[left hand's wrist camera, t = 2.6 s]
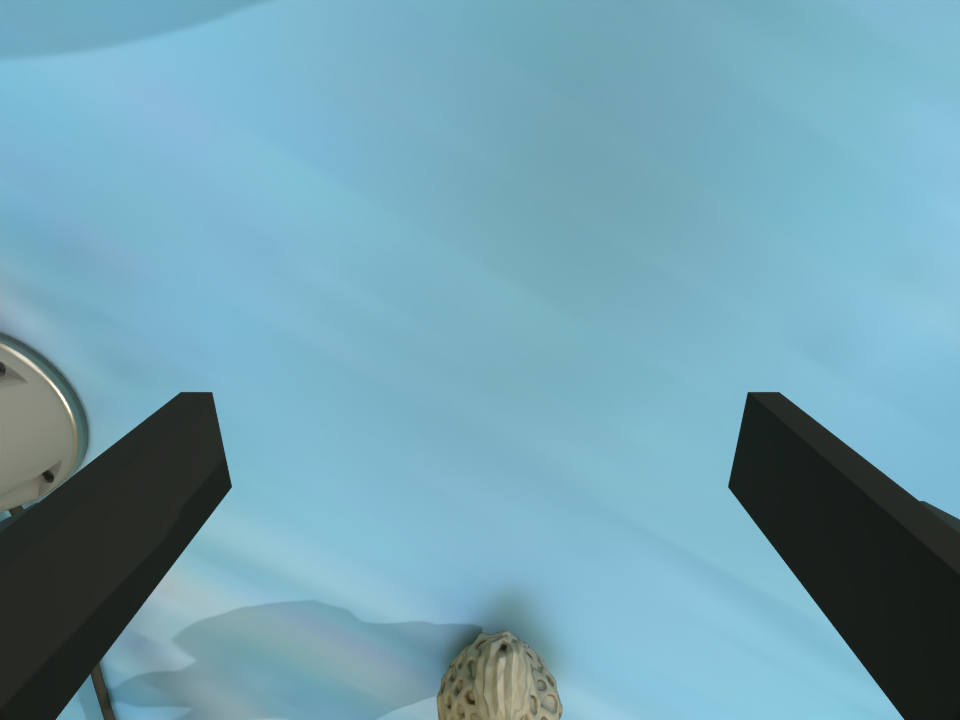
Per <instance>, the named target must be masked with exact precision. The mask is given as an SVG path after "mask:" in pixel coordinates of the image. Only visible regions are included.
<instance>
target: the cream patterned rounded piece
mask: <svg viewBox="0 0 960 720" xmlns="http://www.w3.org/2000/svg"><path fill="white" fill-rule="evenodd" d="M437 709H438V718H439V720H560V718H561V715H562V704H561V702H560V698H559V695H558V692H557V686H556V681H555V679H554V677H553V676H552V674H551V673H549V672H548V669H547V667H546V665H545V662H544V661H543V659H542V658H541V657H540V656H539V655H538V654H537V653H536V652H535V651H534V650H532V649H530V648H529V646H528V645H527V644H525V643H524V642H522V641H521V640H519V639H517V638H516V637H515V636H514V635H512V634H511V633H510V632H509V631H501V632H498V633H495V634H492V635H488V634H486V633H481V634H479V636H478V637H477V639H476V640H475V641H474V642H473V644H471V645H468V646H467V647H466V648H465V649H464V650H463V651H462V652H461V653H460V654H459V655H458V656H457V657H456V658H455V659H454V660H453V662H452V663H451V664H450V667H449V668H448V669H447V670H446V672H445V674H444V676H443V677H442V681H441V688H440V691H439V693H438V695H437Z"/></svg>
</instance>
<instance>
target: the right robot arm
mask: <svg viewBox="0 0 960 720" xmlns="http://www.w3.org/2000/svg"><path fill="white" fill-rule="evenodd" d="M87 444H88V428H87V422H86V417H85V414H84V411H83V408H82V406H81V403H80V401H79V399H78V397H77V396H76V394H75V392H74V390H73V389H72V387H71V386H70V385H69V383H68V382H67V381H66V379H65V378H64V377H63V376H62V374H61V373H60V372H59V371H58V370H57V369H56V368H55V367H54V366H53V365H52V364H51V363H49V362H48V361H47V360H46V359H45V358H44V357H42V356H41V355H40V354H38V353H37V352H36V351H34V350H33V349H31V348H30V347H28V346H26V345H25V344H23V343H21V342H19V341H17V340H15V339H13V338H11V337H9V336H6V335H4V334H1V333H0V512H3V511H6V510H9V512H10V514H11V515H12V516H13V515H14V514H16V513H18V512H20V511H22V510H24V509H23V508H22V506H21V505H22V504H25V503H28V502H31V501H33V500H35V499H37V498H39V497H41V496H44V495H46V494H47V493H49V492H51V491H52V490H53V489H55V488H56V487H57V486H59V485H60V484H61V483H63V482H64V481H65V480H66V479H68V478H69V477H70V476H71V475H72V474H73V473H74V472H75V471H76V470H77V469H78V467H79V466H80V464H81V462H82V461H83V458H84V456H85V453H86V449H87ZM91 677H92V681H93V684H94V688H95V691H96V694H97V697H98V701H99V704H100V707H101V711H102V714H103V717H104V720H115V717H114V714H113V710H112V707H111V704H110V700H109V697H108V693H107V690H106V687H105V683H104V680H103V676H102V672H101V668H100V664H99V663H98V664H97V666H96V667H95V668H94V670H93V671H92V672H91Z"/></svg>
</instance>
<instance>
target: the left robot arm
mask: <svg viewBox="0 0 960 720" xmlns="http://www.w3.org/2000/svg"><path fill="white" fill-rule="evenodd" d="M231 487H232V485H231V480H230V476H229V471H228V466H227V461H226V456H225V452H224V447H223V442H222V437H221V432H220V428H219V423H218V418H217V413H216V408H215V404H214V399H213V394H212V392H181V393H179V394H178V395H177V396H175V397H174V398H173V399H172V400H170V401H169V402H168V403H166V404H165V405H164V406H163V407H161V408H160V409H159V410H157V411H156V412H155V413H154V414H152V415H151V416H150V417H148V418H147V419H146V420H145V421H143V422H142V423H141V424H139V425H138V426H137V427H136V428H134V429H133V430H132V431H130V432H129V433H128V434H127V435H125V436H124V437H123V438H121V439H120V440H119V441H118V442H116V443H115V444H114V445H112V446H111V447H110V448H109V449H107V450H106V451H105V452H103V453H102V454H101V455H100V456H98V457H97V458H96V459H94V460H93V461H92V462H91V463H89V464H88V465H87V466H85V467H84V468H83V469H82V470H80V471H79V472H78V473H76V474H75V475H74V476H73V477H71V478H70V479H69V480H67V481H66V482H65V483H64V484H62V485H61V486H60V487H58V488H57V489H56V490H55V491H53V492H52V493H51V494H49V495H48V496H47V497H46V498H44V499H43V500H42V501H40V502H39V503H36V504H34V505H32V506H30V507H28V508H26V509H24V510H22V511H20V512H18V513H16V514H14V515H13V516H11V517H9V518H7V519H5V520H3V521H1V522H0V720H56V718H57V717H58V716H59V714H60V713H61V712H62V710H63V709H64V708H65V707H66V705H67V704H68V703H69V701H70V700H71V699H72V697H73V696H74V695H75V693H76V692H77V691H78V689H79V688H80V687H81V685H82V684H83V683H84V681H85V680H86V679H87V677H88V676H89V675H90V674H91V672H92V671H93V670H94V668H95V667H96V666H97V664H98V663H99V662H100V660H101V659H102V658H103V656H104V655H105V654H106V652H107V651H108V650H109V648H110V647H111V646H112V644H113V643H114V642H115V641H116V639H117V638H118V637H119V635H120V634H121V633H122V631H123V630H124V629H125V627H126V626H127V625H128V623H129V622H130V621H131V619H132V618H133V617H134V615H135V614H136V613H137V612H138V610H139V609H140V608H141V606H142V605H143V604H144V602H145V601H146V600H147V598H148V597H149V596H150V594H151V593H152V592H153V590H154V589H155V588H156V586H157V585H158V584H159V582H160V581H161V580H162V579H163V577H164V576H165V575H166V573H167V572H168V571H169V569H170V568H171V567H172V565H173V564H174V563H175V561H176V560H177V559H178V557H179V556H180V555H181V553H182V552H183V551H184V550H185V548H186V547H187V546H188V544H189V543H190V542H191V540H192V539H193V538H194V536H195V535H196V534H197V532H198V531H199V530H200V528H201V527H202V526H203V524H204V523H205V522H206V520H207V519H208V518H209V517H210V515H211V514H212V513H213V511H214V510H215V509H216V507H217V506H218V505H219V503H220V502H221V501H222V499H223V498H224V497H225V495H226V494H227V493H228V491H229V490H230V489H231ZM728 487H729V489H730V490H731V491H732V493H733V494H734V495H735V497H736V498H737V499H738V501H739V502H740V503H741V505H742V506H743V507H744V509H745V510H746V511H747V513H748V514H749V515H750V517H751V518H752V519H753V520H754V522H755V523H756V524H757V526H758V527H759V528H760V530H761V531H762V532H763V534H764V535H765V536H766V538H767V539H768V540H769V542H770V543H771V544H772V546H773V547H774V548H775V550H776V551H777V552H778V553H779V555H780V556H781V557H782V559H783V560H784V561H785V563H786V564H787V565H788V567H789V568H790V569H791V571H792V572H793V573H794V575H795V576H796V577H797V579H798V580H799V581H800V582H801V584H802V585H803V586H804V588H805V589H806V590H807V592H808V593H809V594H810V596H811V597H812V598H813V600H814V601H815V602H816V604H817V605H818V606H819V608H820V609H821V610H822V612H823V613H824V614H825V615H826V617H827V618H828V619H829V621H830V622H831V623H832V625H833V626H834V627H835V629H836V630H837V631H838V633H839V634H840V635H841V637H842V638H843V639H844V641H845V642H846V643H847V644H848V646H849V647H850V648H851V650H852V651H853V652H854V654H855V655H856V656H857V658H858V659H859V660H860V662H861V663H862V664H863V666H864V667H865V668H866V670H867V671H868V672H869V674H870V675H871V676H872V677H873V679H874V680H875V681H876V683H877V684H878V685H879V687H880V688H881V689H882V691H883V692H884V693H885V695H886V696H887V697H888V699H889V700H890V701H891V703H892V704H893V705H894V707H895V708H896V709H897V710H898V712H899V713H900V714H901V716H902V717H903V718H904V720H960V520H959V519H958V518H956V517H954V516H952V515H950V514H948V513H946V512H944V511H942V510H940V509H938V508H936V507H934V506H932V505H930V504H928V503H927V502H925V501H918V500H917V499H916V498H914V497H913V496H912V495H911V494H909V493H908V492H907V491H905V490H904V489H903V488H902V487H900V486H899V485H898V484H896V483H895V482H894V481H893V480H891V479H890V478H889V477H887V476H886V475H885V474H884V473H882V472H881V471H880V470H878V469H877V468H876V467H875V466H873V465H872V464H871V463H869V462H868V461H867V460H866V459H864V458H863V457H862V456H860V455H859V454H858V453H857V452H855V451H854V450H853V449H851V448H850V447H849V446H848V445H846V444H845V443H844V442H842V441H841V440H840V439H839V438H837V437H836V436H835V435H833V434H832V433H831V432H830V431H828V430H827V429H826V428H824V427H823V426H822V425H821V424H819V423H818V422H817V421H815V420H814V419H813V418H812V417H810V416H809V415H808V414H806V413H805V412H804V411H803V410H801V409H800V408H799V407H797V406H796V405H795V404H794V403H792V402H791V401H790V400H788V399H787V398H786V397H785V396H783V395H782V394H781V393H779V392H748V394H747V399H746V404H745V408H744V413H743V418H742V423H741V428H740V432H739V437H738V442H737V447H736V452H735V456H734V461H733V466H732V471H731V476H730V480H729V485H728Z"/></svg>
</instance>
